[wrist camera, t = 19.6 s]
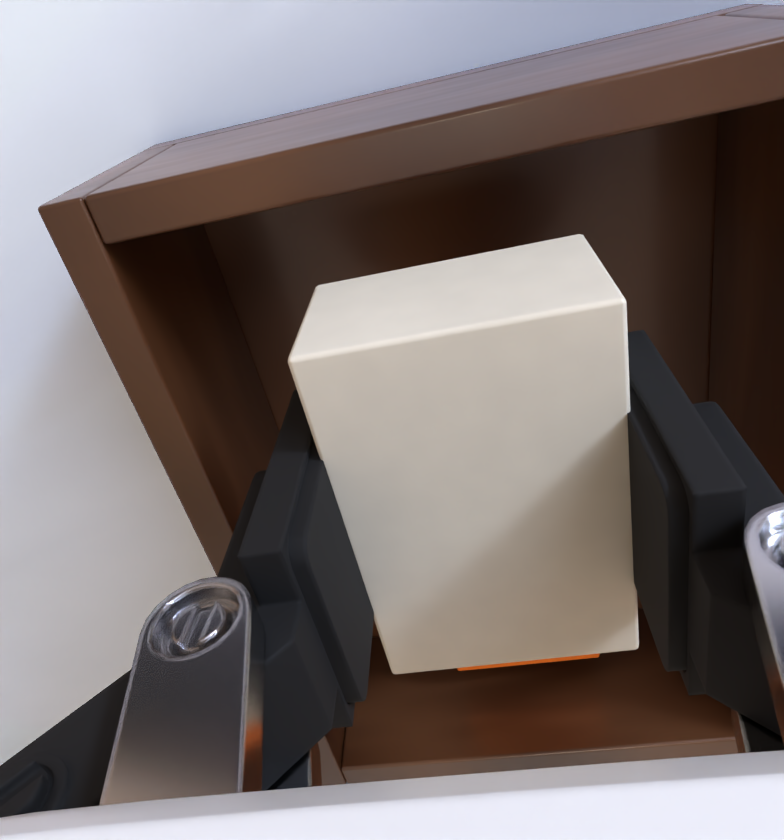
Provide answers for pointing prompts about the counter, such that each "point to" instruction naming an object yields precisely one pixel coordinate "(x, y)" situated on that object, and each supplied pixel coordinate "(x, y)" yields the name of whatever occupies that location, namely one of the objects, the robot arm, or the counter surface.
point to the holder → (442, 240)
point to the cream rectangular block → (480, 452)
